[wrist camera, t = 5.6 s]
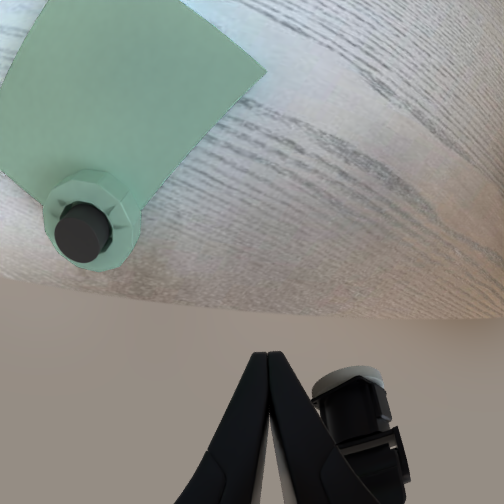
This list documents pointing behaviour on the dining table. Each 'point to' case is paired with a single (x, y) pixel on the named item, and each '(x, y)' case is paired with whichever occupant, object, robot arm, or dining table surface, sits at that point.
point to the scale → (113, 107)
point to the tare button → (82, 233)
